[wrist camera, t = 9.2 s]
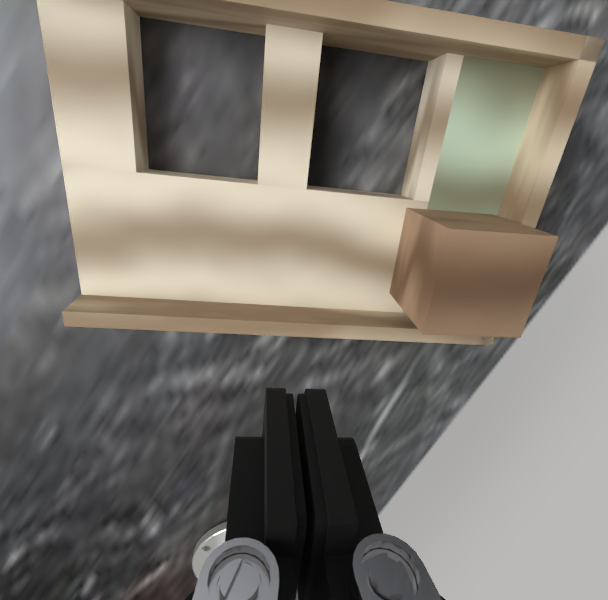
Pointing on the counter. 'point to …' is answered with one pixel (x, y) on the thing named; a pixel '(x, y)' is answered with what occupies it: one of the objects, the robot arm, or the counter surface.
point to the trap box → (295, 164)
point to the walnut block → (468, 272)
